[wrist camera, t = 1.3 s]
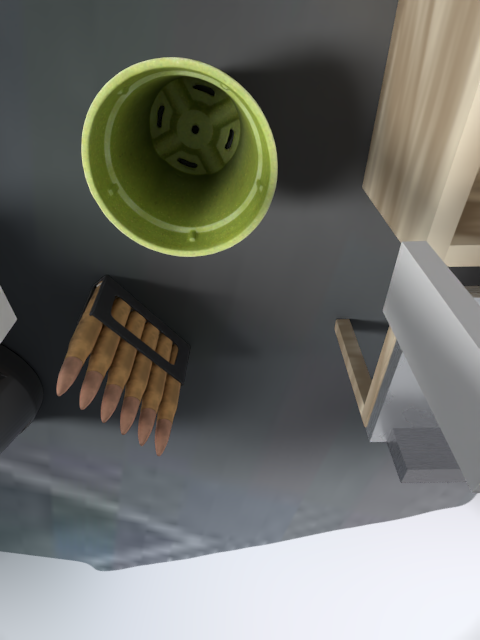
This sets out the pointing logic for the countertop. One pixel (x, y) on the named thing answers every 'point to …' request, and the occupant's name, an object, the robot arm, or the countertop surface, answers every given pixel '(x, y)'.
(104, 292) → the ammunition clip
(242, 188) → the plant pot
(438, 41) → the housing
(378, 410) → the lid
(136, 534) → the countertop surface
